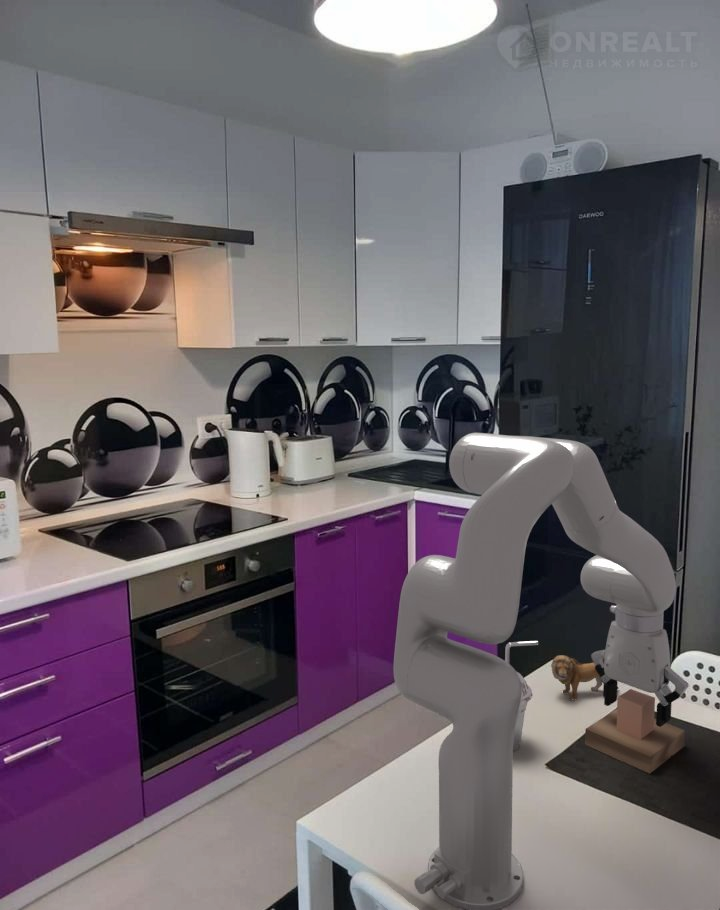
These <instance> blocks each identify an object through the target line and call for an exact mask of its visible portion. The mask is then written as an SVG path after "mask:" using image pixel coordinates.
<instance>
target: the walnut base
mask: <svg viewBox="0 0 720 910" xmlns="http://www.w3.org/2000/svg"><path fill="white" fill-rule="evenodd" d="M616 727H617V708H616V709H613V710H612V711H610V712H608V714H606V715H605V716H602V718H600V719H599V720H596V722H594V723H592V724H591V725H589V726H588V727H586V728H584V729H585V732H584V734H585V737H584V745H585V746H587V747H589V748H592V749H593V750H596V751H598V752H601V753H603V754H605V755H606V756H609V757H611V758H614V759H616V760H619V761H620V762H622V763H625V764H628V765H629V766H631V767H634V768H637V769H639V770H640V771H643V772H645V773H647V774H650V775H651V773H653V772H654V771H655V770H657V769H658V768H659V767H660V766H662V765H664V763H666V761H668V760H669V759H671V758H672V757H673V756H674V755H675V754H677V753H678V752H679V751H680V750H682V749H683V748H684V747H685V742H686V741H685V740H686V739H685V738H686V730H685V729H682V728H680V727H678V726H675V725H672V724H671V723H668V722H667V723H665V724H664V725H663V726H661V727H659V726H657V725H656V717H654V730H653V731H651V732H650V733H649V734H647V735H646V736H645V737H643V738H642V739H638V738H636V737H634V736H631V735H629V734H626V733H624V732H621V731H619V730H617V729H616ZM671 756H672V757H671Z"/></svg>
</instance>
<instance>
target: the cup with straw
mask: <svg viewBox="0 0 720 910" xmlns="http://www.w3.org/2000/svg"><path fill="white" fill-rule="evenodd" d="M539 645H540V643H539V640H529V641H528V640H527V641H513V642H508V643H507V644H506V646H505V652H504V653H505V655H504V656H505V657H504V658H505V659H504V661H506V662H507V663H508V664H510V648H511V647H523V646H524V647H525V646H526V647H527V646H539ZM516 672H517V674H518V676H519V678H520V680H521V685H522V695H521V702H520V707H519V711H518V716H517V720H516V725H515V732H514V741H513V752H516V751H519V750H520V748H521V744H520V743H521V742H522V734H523V730H524V729H523V727H524V720H525V714H526V713H525V712H526V711H527V706H528V703H529V702H530V701H531V700H532V699H533V696H534V695H533V691H532V687H530V685H529V684H528V683H527V681H526V680H525V678H524V676H523V675H522V674H521V673H520V672H518V671H516Z"/></svg>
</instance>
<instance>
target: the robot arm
mask: <svg viewBox="0 0 720 910" xmlns="http://www.w3.org/2000/svg"><path fill="white" fill-rule="evenodd" d="M448 463H449V465H448V466H449V472H450V473H449V474H450V476H451V479H452V480H453V482H454V483H455V484H456V486H458V487H459V489H461V490H463V491H465V492H467V493H471V494H475V495H480V496H479V498H478V499H476V501H474V503H473V504H472V505H471V506H470V508H469V510H468V511H467V512H466V514H465V516H464V518H463V519H462V522H461V523H460V529H459V534H458V535H459V536H458V540H457V546H456V554H455V558H454V557H451V556H445V555H441V554H430V555H427V556H424V557H421V558H420V559H418V560H417V561H416V562H415V563H414V564H413V566H411V567H410V569H409V571H408V573H407V574H406V576H405V579H404V581H403V584H402V587H401V590H400V591H401V592H400V596H399V598H400V599H399V605H398V606H399V607H398V613H397V615H398V616H397V624H396V633H395V635H396V636H395V643H394V655H393V656H394V657H393V678H394V683H395V685H396V689H397V690H398V692H399V693H400V694H401V695H402V696H403V697H404V698H406V699H407V700H408V701H411V702H412V703H415V704H417V705H418V706H420V707H422V708H425V709H427V710H429V711H432V712H433V713H435V714H437V715H439V716H441V717H443V718H445V719H448V721H450V722H451V723H452V730H451V731H450V733H449V734H447V736H445V738H444V739H443V741H442V743H441V745H440V748H439V751H438V827H439V828H438V833H439V835H438V837H439V839H438V841H439V843H438V844H439V846H438V847H437V848H436V849H435V850H433V852H432V854H431V856H430V857H429V859H428V862H427V871H426V872H424V873H423V874H421V875H419V876H418V877H416V878H415V880H414V887H415V889H416V891H417V892H418V893H419V894H420V895H425V894H426V893H428V892H429V891H430V890H431V889H433V891H434V892H435V893H436V894H437V895H438V897H439V898H440V899H443V900H444V901H446V902H447V903H449V904H451V905H453V906H455V907H457V908H460V909H464V910H498V909H501V908H504V907H506V906H507V905H510V904H511V903H513V902H514V901H515V900H516V899H517V898H518V896H519V895H520V894H521V892H522V890H523V886H524V871H523V867H522V864H521V862H520V861H519V860H518V858H517V857H516V856H515V855H514V853H512V849H513V848H512V847H513V846H512V845H513V843H512V842H513V765H514V764H513V760H514V759H513V757H514V756H513V755H514V751H513V741H514V732H515V725H516V720H517V716H518V711H519V707H520V702H521V695H522V685H521V680H520V678H519V676H518V674H517V672H518V671H517V670H515V668H514V667H513V666H512V665H511V664H510V663H509V664H508V663H507V662H506V661H505V659H502V658H501V657H499V656H497V655H495V654H492V653H490V652H487V651H485V650H482V649H480V648H477V647H473V646H470V645H468V644H465V643H461V642H458V641H456V640H453V639H450V638H448V633H451V634H454V635H456V636H459V637H463V638H464V639H468V640H471V641H473V642H477V643H482V644H487V645H498V644H502V643H504V642H505V641H507V640H509V638H511V636H512V634H513V633H514V630H515V627H516V625H517V619H518V614H519V608H520V600H521V599H520V598H521V590H522V582H523V573H524V572H523V571H524V565H525V564H524V563H525V555H526V548H527V542H528V539H529V537H530V535H531V534H530V533H531V532H532V529H533V527H534V525H536V523H537V521H538V520H539V518H540V517H541V516H542V514H544V512H545V511H546V510H547V509H548V508H549V507H550V506H551V505H552V507H553V509H554V512H555V513H556V515H557V517H558V519H559V521H560V523H561V525H562V527H563V529H564V531H565V534H566V535H567V537H568V538H569V539H570V540H571V541H572V542H574V543H575V544H576V545H578V546H580V547H581V548H583V549H585V550H586V551H588V552H591V553H593V554H594V556H593V557H591V558H589V559H588V560H587V561H586V562H585V563H584V565H583V567H582V569H581V572H580V584H581V586H582V590H583V591H585V593H587V594H588V595H589V596H591V597H592V598H594V599H596V600H597V599H598V600H601V601H605V602H607V603H612V604H611V606H610V607H609V611H610V613H612V614H613V615H614V617H615V620H612V621H611V623H610V627H609V630H608V634H607V638H606V645H605V649H601V650H597V651H594V652H593V653H591V654H590V657H591V660H592V663H594V664H595V669H596V671H597V673H598V674H599V675H600V677H601V682H602V684H603V683H604V684H603V685H602V686H603V690H602V691H603V692H602V694H603V695H602V696H603V699H604V700H603V705H604V706H606V707H608V706H610V705H612V704H614V703H615V702H617V699H618V689H617V686H618V682H619V683H622V684H623V685H627V686H629V687H632V688H635V689H638V690H641V691H643V692H646V693H651V694H655V696H656V699H658V703H657V704H656V715H655V719H656V725H657V726H659V727H661V726H663V725H664V724H665V723H667V724H668V722H670V720H671V718H672V703H673V702H675V701H676V700H678V699H679V698H681V697H682V696H683V695H684V693H685V692H686V690H687V689H688V688H689V686H690V685H689V682H687V681H686V680H685V679H684V678H682V676H680V675H679V674H678V673H677V672H675V671H674V670H673V669H672V668H671V653H670V644H669V643H670V642H669V637H668V633H667V630H666V629H665V628H664V613H665V612H664V611H666V610H668V608H670V607H671V605H672V604H673V603H674V599H675V596H676V593H677V592H676V591H677V584H676V577H675V576H676V575H675V573H674V569H673V567H672V564H671V561H670V558H669V556H668V553H667V551H666V550H665V548H664V546H663V545H662V543H660V542H659V540H658V539H657V538H655V537H654V536H653V535H652V534H651V533H649V531H647V530H646V529H645V528H644V527H642V526H641V524H639V523H637V521H635V520H634V519H632V518H631V517H629V515H627V514H625V513H624V512H623V511H621V509H620V508H619V506H618V504H617V501H616V499H615V496H614V494H613V491H612V490H611V487H610V485H609V482H608V480H607V478H606V475H605V473H604V471H603V468H602V466H601V463H600V461H599V459H598V457H597V455H596V453H595V452H594V450H593V449H591V447H589V446H588V445H587V444H584V443H582V442H579V441H577V440H570V439H561V438H552V437H551V438H550V437H539V436H530V435H529V436H528V435H506V434H499V433H498V434H496V433H486V432H485V433H484V432H471V433H467V434H466V435H464V436H462V437H461V438H460V439H458V441H456V443H455V444H454V446H453V448H452V450H451V452H450V455H449V461H448ZM614 604H615V605H614ZM670 682H671V684H673V685H674V687H675V688H674V690H673V691H672V690H671V688H670V686H669V684H670Z"/></svg>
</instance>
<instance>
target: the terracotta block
mask: <svg viewBox="0 0 720 910" xmlns="http://www.w3.org/2000/svg"><path fill="white" fill-rule="evenodd" d="M616 702H617V704H616V705H617V706H616V709H617V727H616V729H617V730H619V731H621V732H624V733H626V734H629V735H631V736H634V737H636V738H638V739H642V738H643V737H645V736H646V735H647V734H649V733H650V732H651V731H653V730H654V718H655V707H656V697H654V696H651V695H649V694H647V693H643V692H641V691H639V690H635V689H632V688H630V689H628V690H627V691H625V692H623V693H622V694H621V695H619V696H617V701H616Z"/></svg>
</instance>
